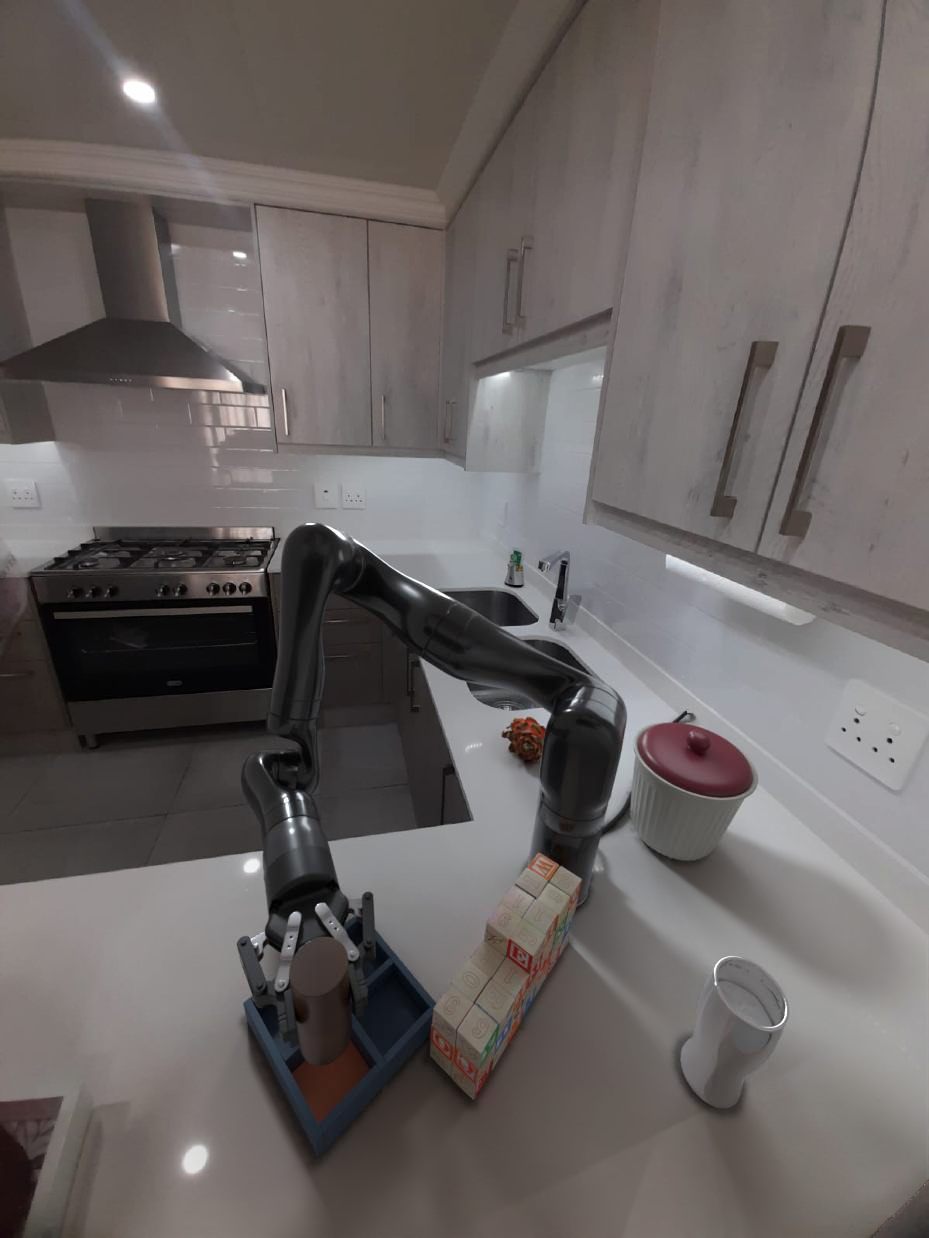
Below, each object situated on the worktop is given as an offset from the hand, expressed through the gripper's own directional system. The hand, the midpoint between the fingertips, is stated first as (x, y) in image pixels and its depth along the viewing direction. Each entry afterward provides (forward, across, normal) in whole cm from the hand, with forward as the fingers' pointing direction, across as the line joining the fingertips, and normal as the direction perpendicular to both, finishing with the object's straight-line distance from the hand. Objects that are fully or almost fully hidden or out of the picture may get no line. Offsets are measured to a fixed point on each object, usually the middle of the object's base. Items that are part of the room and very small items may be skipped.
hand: (328, 1025), depth 43 cm
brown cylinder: (-3, 0, +6) cm, 7 cm away
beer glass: (+14, +38, +15) cm, 43 cm away
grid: (-7, +2, +15) cm, 17 cm away
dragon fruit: (-40, +47, +15) cm, 63 cm away
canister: (-12, +59, +15) cm, 62 cm away
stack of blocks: (-2, +21, +15) cm, 26 cm away
